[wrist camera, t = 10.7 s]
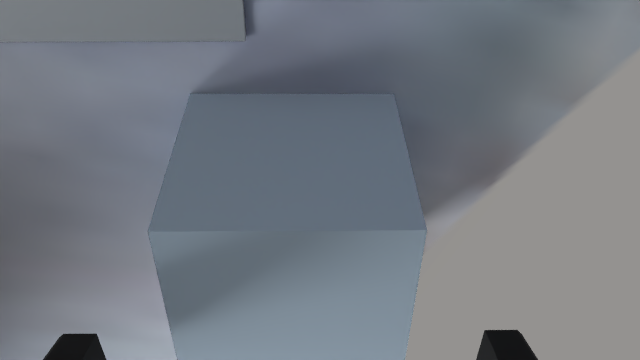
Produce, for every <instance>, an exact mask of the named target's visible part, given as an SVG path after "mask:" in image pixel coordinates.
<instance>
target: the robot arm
mask: <svg viewBox="0 0 640 360" xmlns="http://www.w3.org/2000/svg"><path fill="white" fill-rule="evenodd" d="M43 360H106V358H105V355H104V352H103V350H102V347H101V344H100V342H99V339H98V336H97V334H63V335H62V336H61V337H59V339H58V340H57V341H56V343H55V344H54V345H53V347H52V348H51V349H50V351H49V352H48V354H47V355H46V356H45V358H44V359H43ZM476 360H538V359H537V358H536V356H535V354H534V353H533V351H532V350H531V348H530V346H529V345H528V343H527V342H526V340H525V339H524V337H523V335H522V334H521V333H520V332H519V331H518V330H485V331H484V335H483V338H482V342H481V345H480V348H479V352H478V355H477V359H476Z"/></svg>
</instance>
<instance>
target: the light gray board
mask: <svg viewBox="0 0 640 360" xmlns="http://www.w3.org/2000/svg"><path fill="white" fill-rule="evenodd" d="M200 41H246V27H245V14H244V1H243V0H0V42H200Z"/></svg>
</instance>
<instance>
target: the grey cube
mask: <svg viewBox="0 0 640 360" xmlns="http://www.w3.org/2000/svg"><path fill="white" fill-rule="evenodd" d="M426 233H427V228H426V224H425V220H424V216H423V212H422V208H421V204H420V199H419V195H418V191H417V187H416V183H415V179H414V175H413V170H412V166H411V162H410V158H409V154H408V150H407V146H406V141H405V137H404V133H403V129H402V125H401V121H400V117H399V112H398V108H397V104H396V100H395V96H394V94H190V96H189V99H188V103H187V106H186V109H185V112H184V116H183V119H182V122H181V125H180V129H179V132H178V135H177V138H176V142H175V145H174V148H173V151H172V155H171V158H170V161H169V164H168V168H167V171H166V174H165V177H164V181H163V184H162V187H161V190H160V194H159V197H158V200H157V203H156V207H155V210H154V213H153V216H152V220H151V223H150V226H149V229H148V235H149V239H150V243H151V248H152V252H153V256H154V261H155V265H156V269H157V274H158V278H159V282H160V287H161V291H162V295H163V300H164V304H165V308H166V313H167V317H168V321H169V326H170V330H171V334H172V339H173V343H174V347H175V352H176V356H177V360H405V356H406V350H407V345H408V339H409V332H410V327H411V321H412V315H413V308H414V303H415V297H416V292H417V286H418V279H419V274H420V268H421V262H422V256H423V250H424V245H425V239H426Z"/></svg>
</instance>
